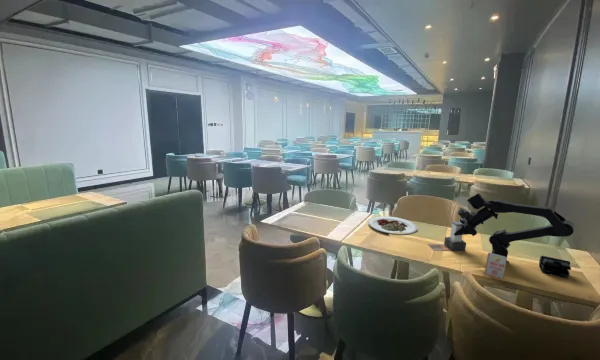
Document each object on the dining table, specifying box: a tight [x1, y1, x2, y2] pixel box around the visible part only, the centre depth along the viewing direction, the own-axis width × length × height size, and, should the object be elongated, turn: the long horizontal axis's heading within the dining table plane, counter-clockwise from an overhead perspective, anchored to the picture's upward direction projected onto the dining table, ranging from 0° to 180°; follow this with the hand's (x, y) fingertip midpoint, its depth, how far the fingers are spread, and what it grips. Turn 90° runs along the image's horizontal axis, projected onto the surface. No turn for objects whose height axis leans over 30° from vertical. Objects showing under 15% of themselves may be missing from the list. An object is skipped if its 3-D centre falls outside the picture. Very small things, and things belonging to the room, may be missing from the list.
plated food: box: [368, 215, 418, 235], centre depth 182 cm, size 30×30×3 cm
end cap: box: [538, 255, 572, 280], centre depth 130 cm, size 10×7×7 cm
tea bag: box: [484, 252, 508, 280], centre depth 127 cm, size 4×7×10 cm, turn 53°
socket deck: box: [427, 236, 467, 252], centre depth 152 cm, size 8×17×6 cm, turn 90°
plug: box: [449, 221, 464, 242], centre depth 150 cm, size 4×4×12 cm
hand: (453, 233), depth 151 cm, fingers closed on plug, 5 cm apart
